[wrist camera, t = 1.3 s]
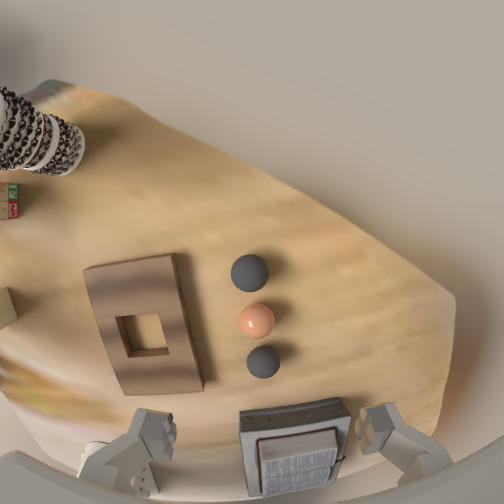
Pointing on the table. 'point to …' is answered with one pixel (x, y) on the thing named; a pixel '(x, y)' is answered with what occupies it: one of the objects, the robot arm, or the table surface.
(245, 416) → the bible
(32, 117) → the black white tall cylinder
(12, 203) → the stack of blocks
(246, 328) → the terracotta ball
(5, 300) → the toy refrigerator
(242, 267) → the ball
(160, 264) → the walnut board
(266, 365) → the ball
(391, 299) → the table surface
